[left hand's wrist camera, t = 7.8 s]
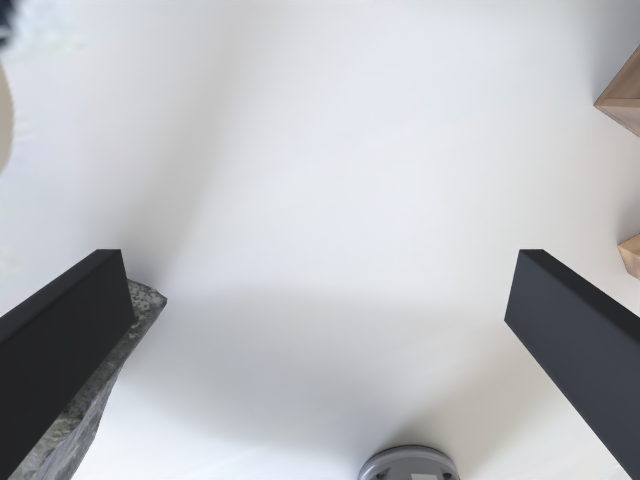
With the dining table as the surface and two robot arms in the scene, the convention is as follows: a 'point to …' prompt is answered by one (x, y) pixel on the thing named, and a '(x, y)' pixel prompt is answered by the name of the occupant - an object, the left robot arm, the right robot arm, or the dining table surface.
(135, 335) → the concrete block
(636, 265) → the block
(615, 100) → the chest
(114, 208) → the dining table surface
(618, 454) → the left robot arm
